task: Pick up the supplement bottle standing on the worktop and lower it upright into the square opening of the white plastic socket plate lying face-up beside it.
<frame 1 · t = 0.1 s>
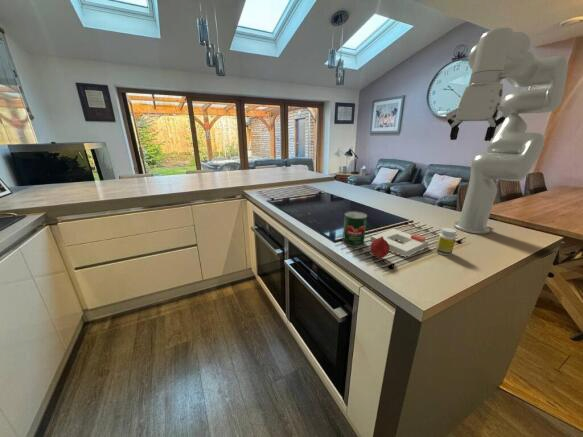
hand: (469, 140, 76), 37 cm above the counter, tool pointing down, fingers open, 9 cm apart
socket plate: (398, 244, 86), on the counter
onion: (378, 258, 77), on the counter
supplement bottle: (443, 252, 81), on the counter
canned tomato: (352, 242, 89), on the counter
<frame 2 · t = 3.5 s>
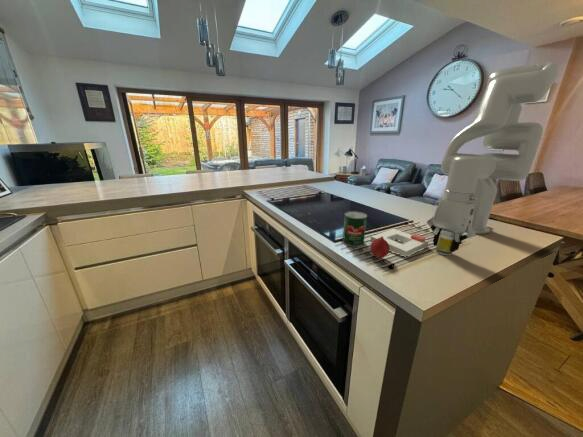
hand: (444, 247, 81), 2 cm above the counter, tool pointing down, fingers closed on supplement bottle, 4 cm apart
supplement bottle: (443, 252, 81), on the counter, touching gripper
everything else where it was.
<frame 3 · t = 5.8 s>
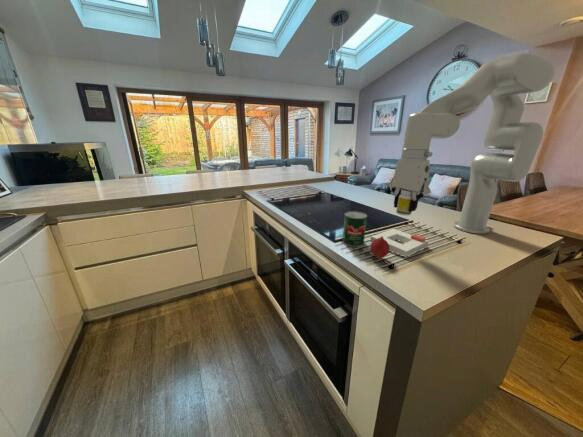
hand: (404, 208, 81), 14 cm above the counter, tool pointing down, fingers closed on supplement bottle, 4 cm apart
supplement bottle: (403, 214, 82), point 12 cm above the counter, touching gripper
everything else where it was.
when the fingers open (3 cm above the counter, at t = 7.9 s): supplement bottle drops 1 cm, resting in socket plate.
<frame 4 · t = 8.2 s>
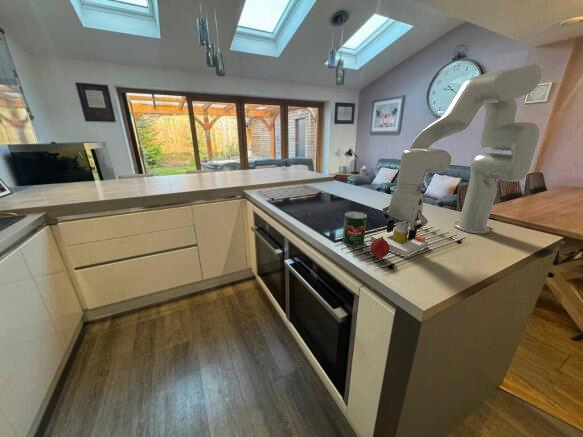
hand: (399, 235, 85), 4 cm above the counter, tool pointing down, fingers open, 7 cm apart
supplement bottle: (398, 245, 87), resting in socket plate
everything else where it was.
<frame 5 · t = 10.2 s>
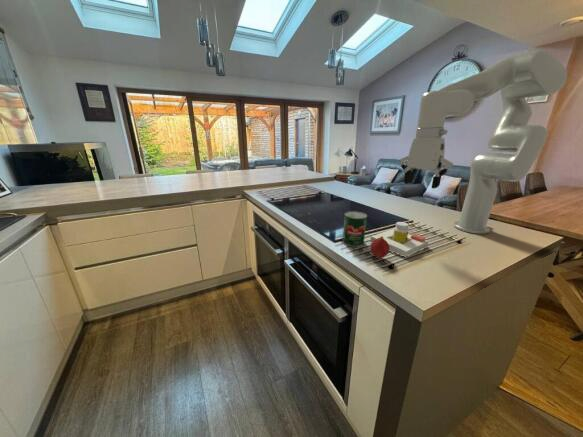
hand: (420, 185, 83), 21 cm above the counter, tool pointing down, fingers open, 9 cm apart
nothing on the counter moved.
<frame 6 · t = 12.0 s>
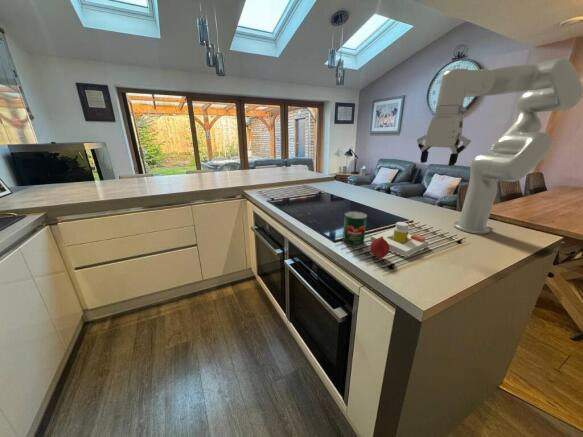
hand: (436, 163, 85), 28 cm above the counter, tool pointing down, fingers open, 9 cm apart
nothing on the counter moved.
at the end: supplement bottle 0.1 cm off-centre on the socket plate, point 0.0 cm above the socket plate's base; supplement bottle tilted 0°; the gripper is holding nothing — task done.
